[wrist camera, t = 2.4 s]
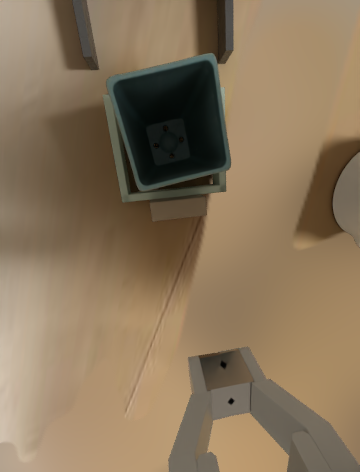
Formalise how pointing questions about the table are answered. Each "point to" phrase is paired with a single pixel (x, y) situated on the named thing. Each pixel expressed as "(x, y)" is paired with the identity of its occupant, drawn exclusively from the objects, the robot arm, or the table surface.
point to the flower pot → (172, 121)
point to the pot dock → (89, 48)
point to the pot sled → (165, 200)
